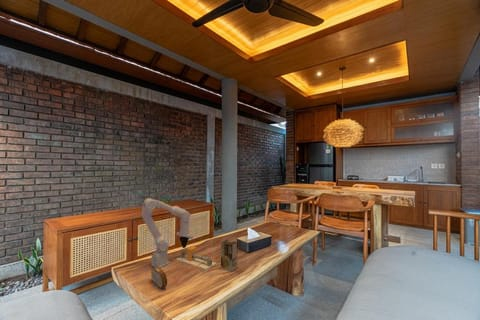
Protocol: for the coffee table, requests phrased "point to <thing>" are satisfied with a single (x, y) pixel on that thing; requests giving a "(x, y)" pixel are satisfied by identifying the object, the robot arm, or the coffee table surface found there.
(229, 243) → the coffee box
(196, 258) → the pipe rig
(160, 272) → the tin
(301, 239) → the coffee table surface
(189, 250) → the orange block with hole
